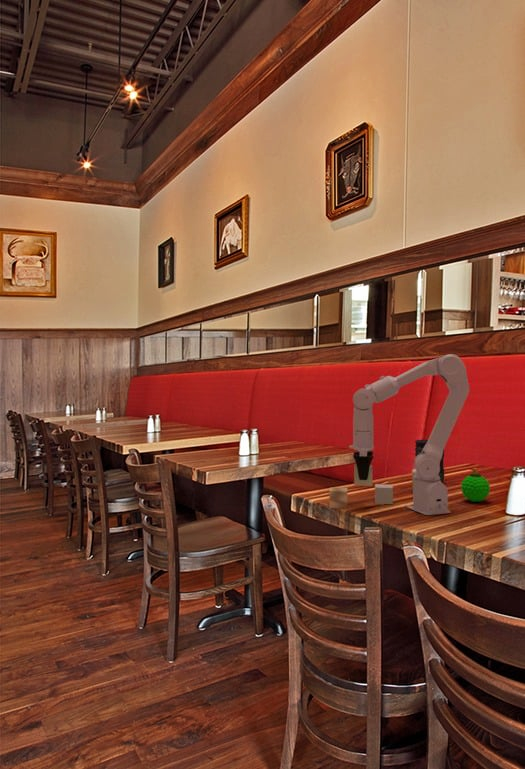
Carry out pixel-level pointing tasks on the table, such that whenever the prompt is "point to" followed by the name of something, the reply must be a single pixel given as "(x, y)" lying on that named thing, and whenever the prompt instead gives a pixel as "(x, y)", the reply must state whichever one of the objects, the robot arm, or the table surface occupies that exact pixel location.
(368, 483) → the sage block
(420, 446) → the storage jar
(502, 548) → the table surface
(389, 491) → the white cube
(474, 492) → the ornament
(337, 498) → the birch block
